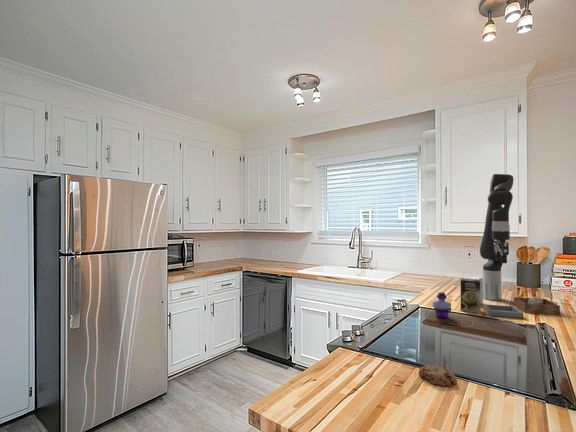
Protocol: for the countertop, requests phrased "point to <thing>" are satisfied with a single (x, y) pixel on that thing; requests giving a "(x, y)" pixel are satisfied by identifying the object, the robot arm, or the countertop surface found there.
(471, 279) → the skincare box
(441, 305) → the potion bottle
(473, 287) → the coffee box
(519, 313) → the charcoal tray
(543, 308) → the walnut frame
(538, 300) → the frog figurine
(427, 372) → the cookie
